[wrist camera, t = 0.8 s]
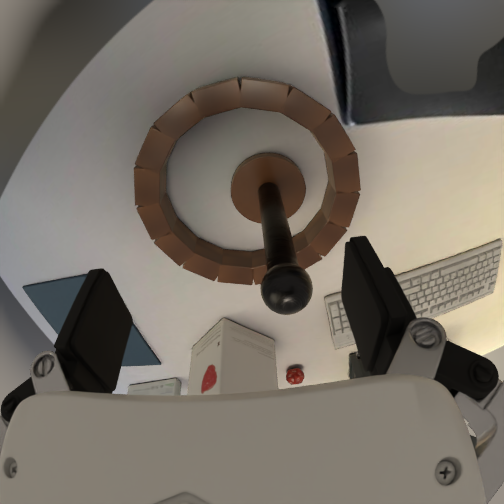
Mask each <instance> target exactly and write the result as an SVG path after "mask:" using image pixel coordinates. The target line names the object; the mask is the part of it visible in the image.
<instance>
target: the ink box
mask: <svg viewBox="0 0 504 504" xmlns="http://www.w3.org/2000/svg"><path fill="white" fill-rule="evenodd" d="M180 392H181V382H180V381H178V380H177V379H176V378H174V379H168V380H162V381H156V382H150V383H144V384H137V385H129V387H128V393H127V395H161V396H180Z"/></svg>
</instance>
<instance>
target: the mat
mask: <svg viewBox="0 0 504 504" xmlns="http://www.w3.org/2000/svg"><path fill="white" fill-rule="evenodd" d="M86 276H87V274H85V275H79V276H74V277H69V278H64V279H58V280H53V281H48V282H42V283H37V284H32V285H27V286H23V289H24V291H25V292H26V294H27V295H28V296H29V298H30V299H31V300H32V302H33V303H34V305H35V306H36V307H37V309H38V310H39V311H40V313H41V314H42V315H43V316H44V318H45V319H46V320H47V322H48V323H49V324H50V325H51V327H52V328H53V329H54V330H55V331H56V333H57V334H58V335H59V333H60V330H61V328H62V326H63V324H64V321H65V319H66V317H67V315H68V313H69V311H70V308H71V306H72V304H73V302H74V300H75V298H76V296H77V294H78V292H79V290H80V288H81V286H82V284H83V282H84V280H85V278H86ZM145 365H161V362H160V361H159V359H158V358H157V357H156V355H155V354H154V353H153V351H152V350H151V348H150V347H149V345H148V344H147V343H146V341H145V340H144V338H143V337H142V335H141V334H140V332H139V331H138V329H137V328H136V327H135V325H134V324H132V328H131V331H130V335H129V338H128V342H127V346H126V349H125V353H124V357H123V361H122V365H121V366H145Z"/></svg>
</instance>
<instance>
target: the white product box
mask: <svg viewBox="0 0 504 504" xmlns="http://www.w3.org/2000/svg"><path fill="white" fill-rule="evenodd" d="M269 390H278V379H277V367H276V356H275V345H274V340H273V339H270V338H268V337H266V336H263V335H261V334H259V333H256V332H254V331H252V330H250V329H247V328H245V327H243V326H241V325H238V324H236V323H234V322H232V321H229V320H227V319H225V318H223V319H222V320H221V321H220V322H219V323H218V324H217V325H216V326H215V327H213V328H212V329H211V330H210V331H209V332H208V333H207V334H206V335H205V336H204V337H203V338H202V339H201V340H200V341H199V342H198V343H197V344H196V345H195V346H194V347H193V348H192V356H191V364H190V374H189V383H188V394H187V395H215V394H233V393H247V392H259V391H269Z"/></svg>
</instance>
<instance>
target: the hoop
mask: <svg viewBox="0 0 504 504" xmlns="http://www.w3.org/2000/svg"><path fill="white" fill-rule="evenodd" d="M241 107H243V108H251V109H259V110H266V111H273V112H279V113H282V114H284V115H285V116H287V117H289V118H290V119H292V120H294V121H295V122H297V123H298V124H300V125H302V126H303V127H305V128H306V129H308V130H310V132H311V133H312V135H313V136H314V138H315V139H316V141H317V142H318V144H319V145H320V147H321V148H322V150H323V151H324V155H325V161H326V167H327V174H328V180H329V181H328V185H327V189H326V192H325V196H324V200H323V203H322V207H321V209H320V210H319V212H318V213H317V214H316V215H315V217H314V218H313V219H312V221H311V222H310V223H309V224H308V226H307V227H306V228H305V230H304V231H302V232H300V233H299V234H297V235H296V236H294V237H292V240H293V244H294V248H295V252H296V256H297V260H298V264H299V266H300V267H302V268H303V269H306V268H308V267H309V266H311V265H313V264H314V263H316V262H318V261H320V260H321V259H322V257H321V255H323V256H324V257H325V256H326V255H327V254H328V253H329V251H330V250H331V249H332V248H333V247H334V246H335V244H336V243H337V242H338V241H339V240H340V239H341V237H342V236H343V235H344V234H345V233H346V231H347V229H346V227H349V226H350V223H351V220H352V217H353V214H354V211H355V208H356V205H357V202H358V199H359V196H360V193H359V192H358V191H360V190H361V188H360V177H359V167H358V158H357V153H356V152H355V151H354V150H356V149H355V147H354V146H353V144H352V142H351V141H350V139H349V137H348V136H347V134H346V132H345V131H344V129H343V127H342V126H341V124H340V123H339V121H338V119H337V118H336V116H335V115H334V114H332V113H331V111H330V110H329V109H327V108H326V107H324V106H323V105H321V104H320V103H318V102H317V101H315V100H314V99H312V98H311V97H309V96H308V95H306V94H305V93H303V92H301V91H300V90H298V89H297V88H295V87H293V86H291V85H288V84H286V83H284V82H278V81H272V80H265V79H258V78H251V77H242V78H241V85H240V83H239V80H238V77H234V78H231V79H227V80H223V81H220V82H216V83H213V84H209V85H206V86H203V87H200V88H197V89H195V90H194V91H191V92H190V93H188V94H187V95H185V96H184V97H183V98H182V99H181V100H179V101H178V102H177V103H176V104H175V105H173V106H172V107H171V108H170V109H169V110H168V111H167V112H165V113H164V114H163V115H162V116H161V117H160V118H159V119H158V120H157V121H155V122H154V125H153V126H152V127H151V128H150V130H149V132H148V134H147V137H146V139H145V141H144V143H143V146H142V148H141V150H140V153H139V155H138V157H137V160H136V162H135V165H136V166H135V168H134V187H135V205H138V207H137V211H138V213H139V215H140V217H141V219H142V221H143V223H144V225H145V227H146V229H147V231H148V233H149V235H150V237H151V239H152V240H154V239H155V242H154V244H155V245H157V246H158V247H159V248H160V249H161V250H162V251H163V252H164V253H165V254H166V255H168V256H169V257H170V258H171V259H172V260H173V261H174V262H175V263H177V264H178V265H179V266H180V265H182V264H183V268H184V269H186V270H189V271H191V272H193V273H196V274H198V275H200V276H203V277H205V278H208V279H210V280H213V281H215V279H216V278H217V276H218V282H223V283H234V284H246V285H252V283H253V279H254V282H255V285H257V284H261V282H262V279H263V277H264V275H265V274H266V273H267V265H266V256H265V249H261V250H257V251H253V252H249V251H238V250H228V249H222V248H220V247H217V246H215V245H213V244H211V243H209V242H206V241H204V240H202V239H200V238H197V237H196V236H195V235H194V234H193V233H192V232H191V231H190V230H189V229H188V228H187V227H186V226H185V225H184V224H183V223H182V222H181V221H180V220H179V219H178V218H177V217H176V214H175V212H174V210H173V207H172V205H171V203H170V200H169V198H168V195H167V193H166V168H167V160H168V158H169V156H170V154H171V152H172V150H173V148H174V146H175V144H176V142H177V140H178V138H180V137H181V136H182V135H183V134H184V133H186V132H187V131H188V130H189V129H190V128H192V127H193V126H194V125H195V124H197V123H198V122H199V121H200V120H202V119H203V118H205V117H208V116H212V115H215V114H219V113H222V112H226V111H229V110H233V109H237V108H241Z"/></svg>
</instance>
